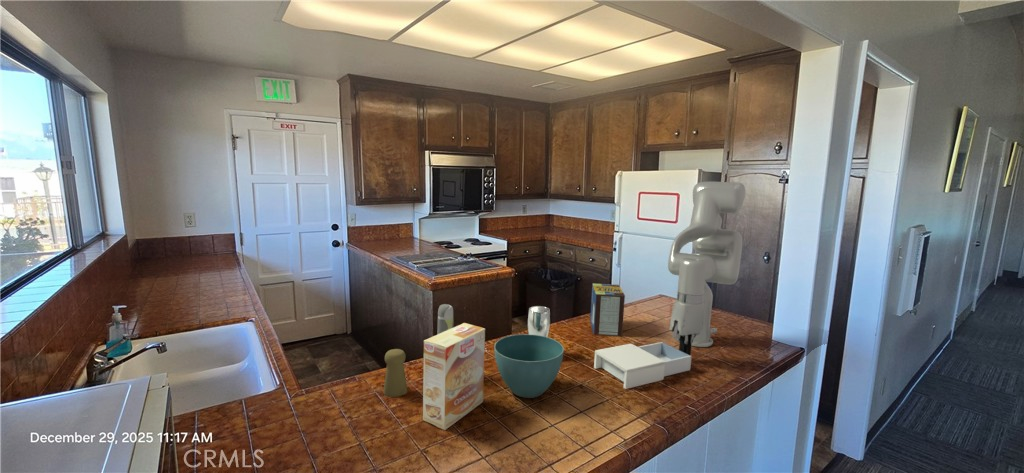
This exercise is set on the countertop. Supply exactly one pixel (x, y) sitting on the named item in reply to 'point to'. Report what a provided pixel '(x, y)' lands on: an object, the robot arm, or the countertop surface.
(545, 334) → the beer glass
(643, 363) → the sleeve
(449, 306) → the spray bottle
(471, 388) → the coffeecake box
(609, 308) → the protein box
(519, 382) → the teal bowl
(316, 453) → the countertop surface
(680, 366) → the white sliding drawer box
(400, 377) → the olive green pepper shaker
